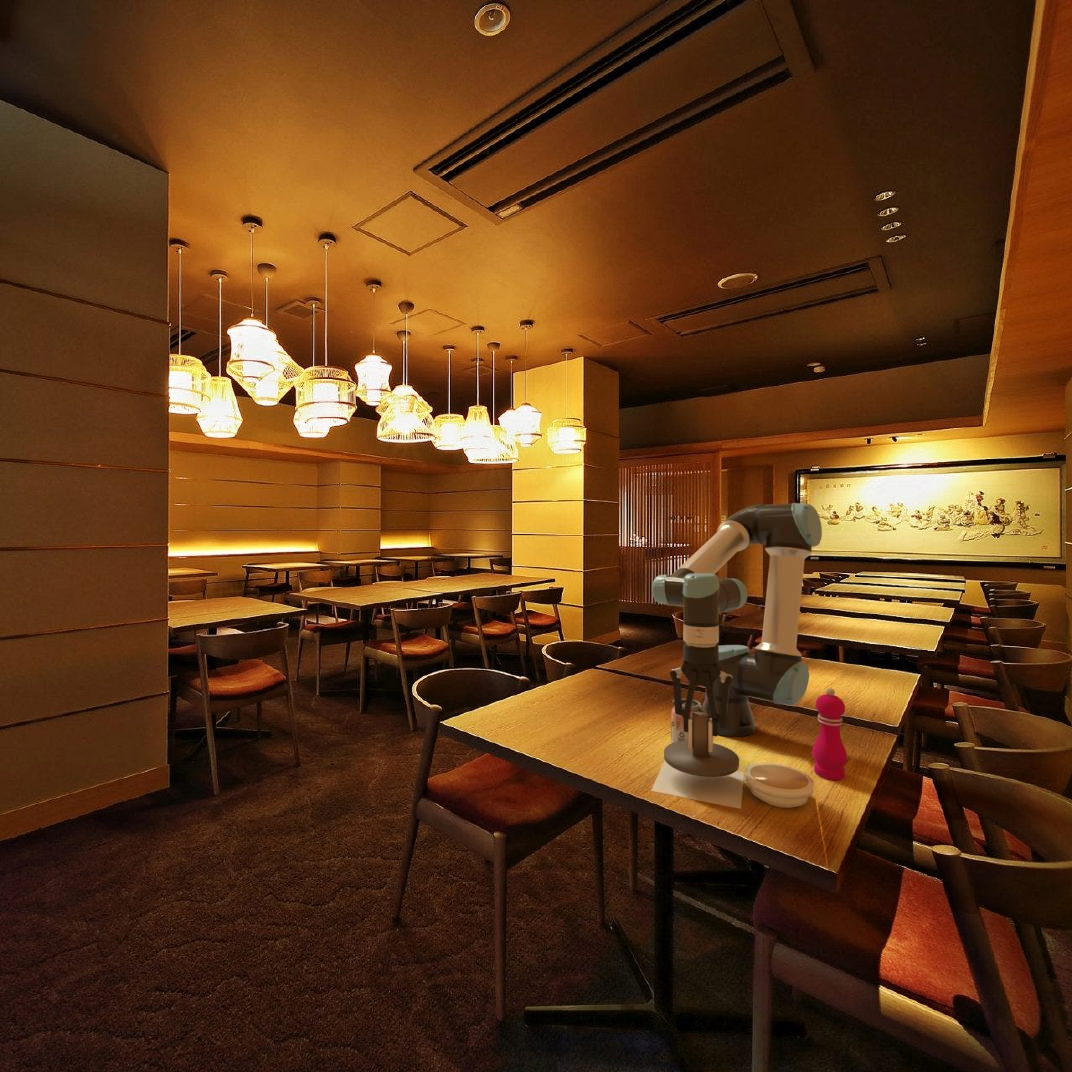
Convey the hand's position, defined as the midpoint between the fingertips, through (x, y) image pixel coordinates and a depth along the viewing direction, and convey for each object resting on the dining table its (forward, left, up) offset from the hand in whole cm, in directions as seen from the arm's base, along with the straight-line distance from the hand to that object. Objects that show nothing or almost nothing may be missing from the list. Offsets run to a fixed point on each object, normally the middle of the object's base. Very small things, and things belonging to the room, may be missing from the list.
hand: (700, 747), depth 120 cm
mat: (0, 0, -8) cm, 8 cm away
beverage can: (-19, -5, -8) cm, 21 cm away
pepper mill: (-17, +27, -8) cm, 33 cm away
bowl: (+1, +16, -8) cm, 18 cm away
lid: (0, 0, -3) cm, 3 cm away
